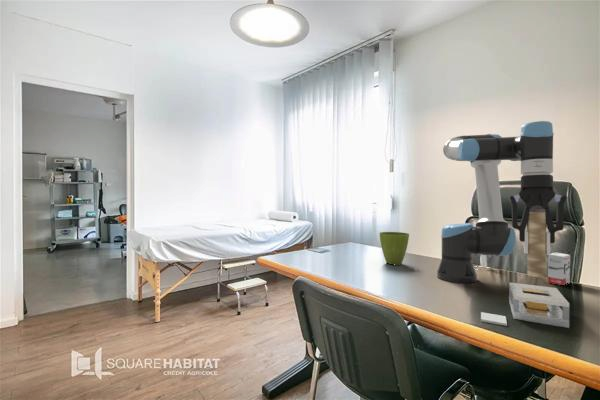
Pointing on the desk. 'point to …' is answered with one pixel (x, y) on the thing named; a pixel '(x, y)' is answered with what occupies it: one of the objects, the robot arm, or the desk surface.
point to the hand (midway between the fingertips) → (536, 253)
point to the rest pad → (493, 319)
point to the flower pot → (394, 246)
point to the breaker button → (536, 305)
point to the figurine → (483, 261)
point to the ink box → (559, 268)
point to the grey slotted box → (537, 315)
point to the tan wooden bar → (536, 243)
